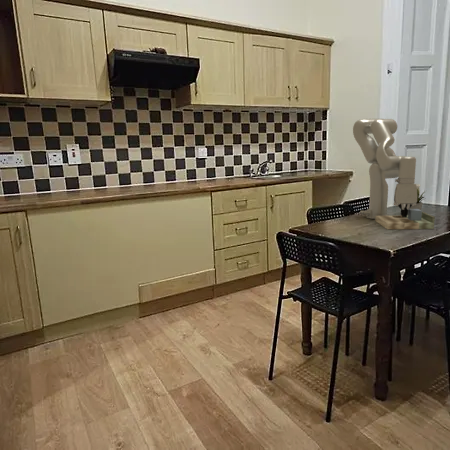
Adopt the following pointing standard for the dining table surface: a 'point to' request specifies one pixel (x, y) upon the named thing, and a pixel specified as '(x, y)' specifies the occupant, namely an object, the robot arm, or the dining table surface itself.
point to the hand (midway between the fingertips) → (404, 216)
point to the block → (414, 214)
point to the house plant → (418, 201)
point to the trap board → (406, 222)
